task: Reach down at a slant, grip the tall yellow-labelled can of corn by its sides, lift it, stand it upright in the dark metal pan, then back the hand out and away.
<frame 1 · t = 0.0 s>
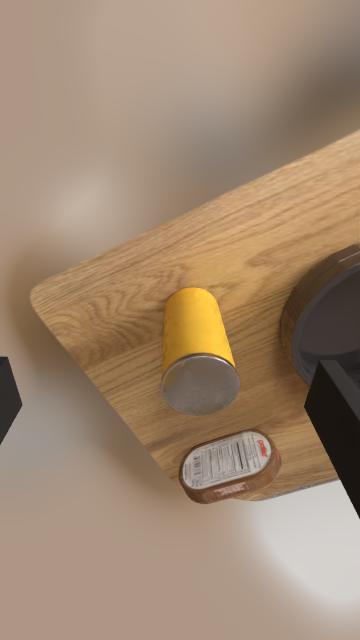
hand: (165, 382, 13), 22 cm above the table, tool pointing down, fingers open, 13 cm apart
tin: (223, 439, 49), on the table
corn can: (191, 311, 37), on the table
pan: (356, 314, 37), on the table
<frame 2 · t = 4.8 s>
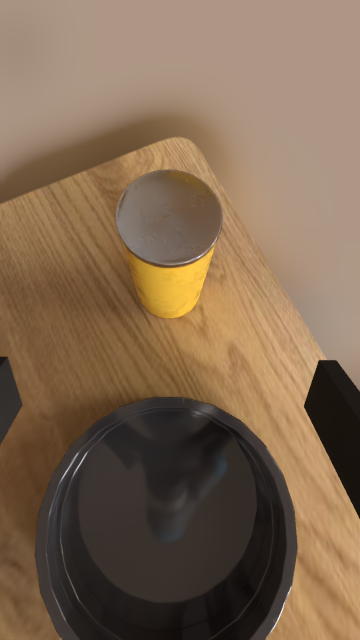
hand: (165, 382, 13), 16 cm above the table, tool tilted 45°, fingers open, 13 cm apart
corn can: (168, 288, 31), on the table
pan: (168, 508, 26), on the table
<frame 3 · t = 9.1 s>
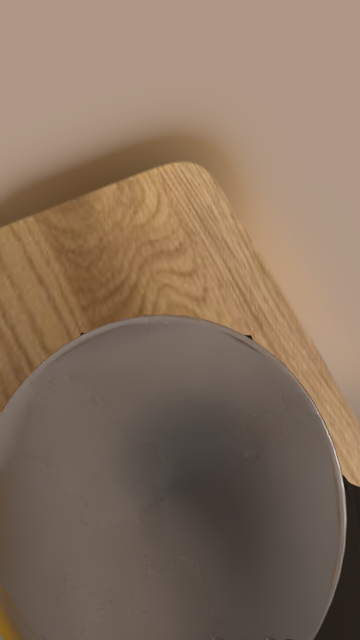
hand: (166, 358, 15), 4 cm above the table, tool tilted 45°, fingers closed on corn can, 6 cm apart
corn can: (165, 428, 18), on the table, touching gripper
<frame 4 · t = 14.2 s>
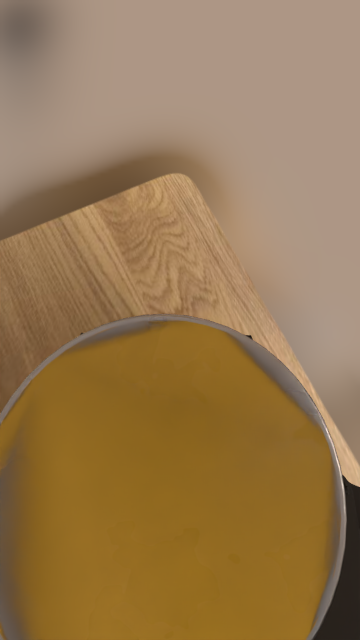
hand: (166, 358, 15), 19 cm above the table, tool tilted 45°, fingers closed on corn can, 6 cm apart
corn can: (165, 428, 18), point 15 cm above the table, touching gripper
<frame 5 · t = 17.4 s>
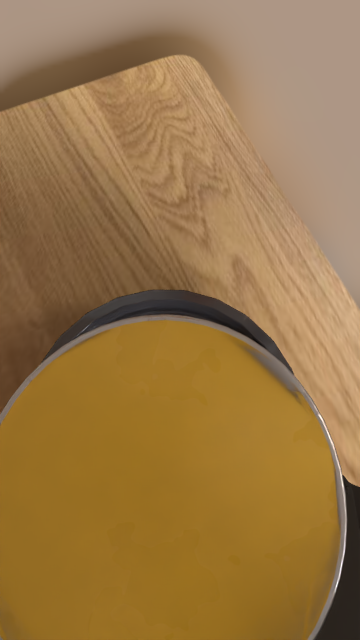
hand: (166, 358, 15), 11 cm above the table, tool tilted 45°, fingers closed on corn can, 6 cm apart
corn can: (165, 428, 18), point 7 cm above the table, touching gripper
pan: (166, 420, 24), on the table
when the fingers open (5 cm above the table, at t = 19.5 s): corn can stays where it is, resting on pan.
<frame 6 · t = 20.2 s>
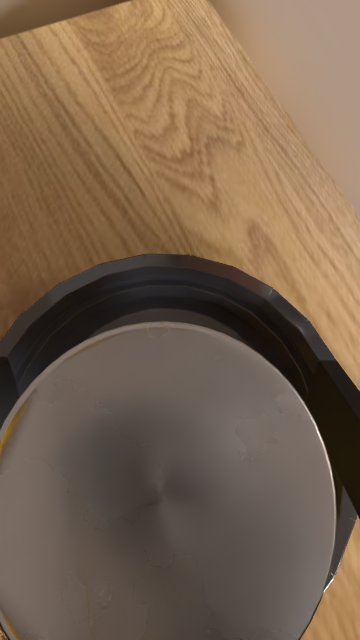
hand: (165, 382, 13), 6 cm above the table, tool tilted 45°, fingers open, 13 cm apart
corn can: (165, 429, 18), point 1 cm above the table, touching pan
pan: (165, 427, 19), on the table
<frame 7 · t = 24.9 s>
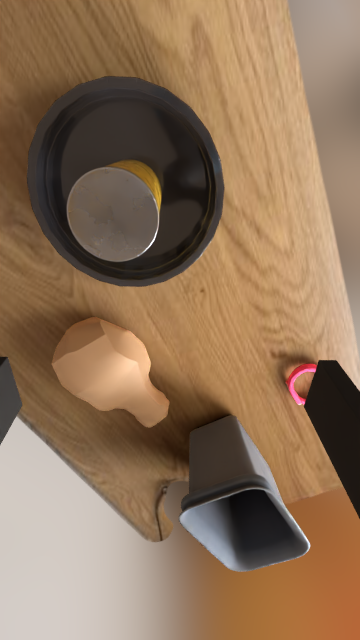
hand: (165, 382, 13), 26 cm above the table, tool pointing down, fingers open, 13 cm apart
storage bin: (225, 449, 56), on the table
fitness band: (306, 381, 48), on the table
corn can: (131, 192, 33), point 1 cm above the table, touching pan
squash: (124, 360, 45), on the table
pan: (132, 191, 34), on the table
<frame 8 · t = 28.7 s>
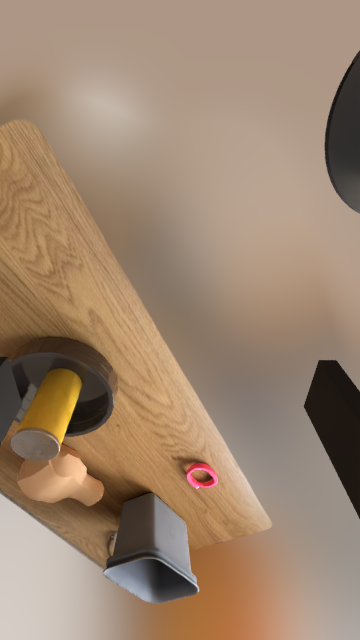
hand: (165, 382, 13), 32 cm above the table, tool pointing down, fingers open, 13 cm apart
storage bin: (152, 512, 77), on the table
fitness band: (201, 472, 69), on the table
corn can: (63, 382, 54), point 1 cm above the table, touching pan
squash: (71, 462, 66), on the table
pan: (64, 380, 54), on the table
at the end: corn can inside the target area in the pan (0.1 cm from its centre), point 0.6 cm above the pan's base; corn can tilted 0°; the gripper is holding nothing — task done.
